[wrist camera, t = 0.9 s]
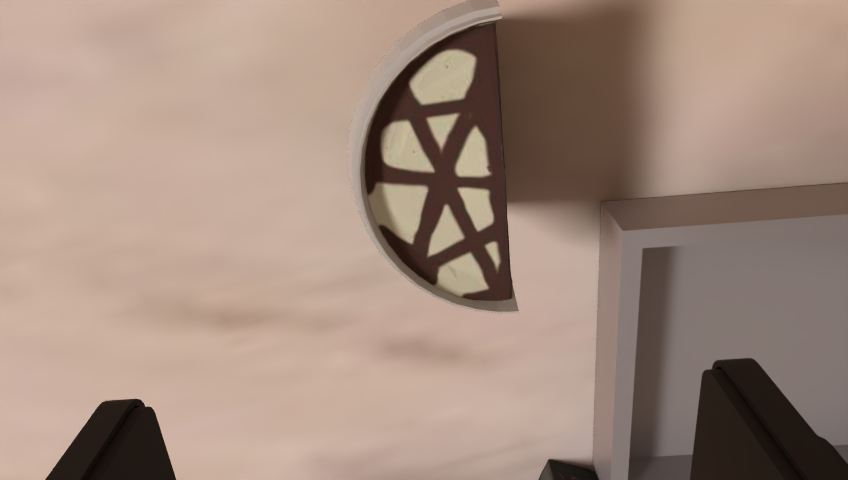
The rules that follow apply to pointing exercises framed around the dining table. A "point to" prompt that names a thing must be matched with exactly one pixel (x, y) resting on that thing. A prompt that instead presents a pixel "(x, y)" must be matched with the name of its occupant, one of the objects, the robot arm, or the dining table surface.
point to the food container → (438, 160)
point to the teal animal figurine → (565, 472)
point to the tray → (716, 315)
